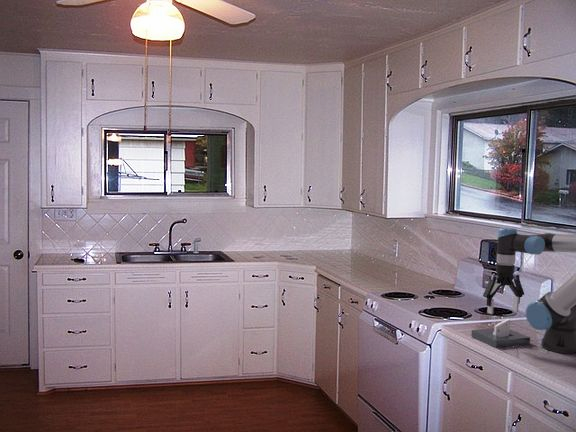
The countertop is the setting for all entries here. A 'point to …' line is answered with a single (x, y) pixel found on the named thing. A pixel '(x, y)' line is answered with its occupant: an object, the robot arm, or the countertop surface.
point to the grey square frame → (500, 338)
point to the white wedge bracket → (502, 328)
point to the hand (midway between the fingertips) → (502, 312)
